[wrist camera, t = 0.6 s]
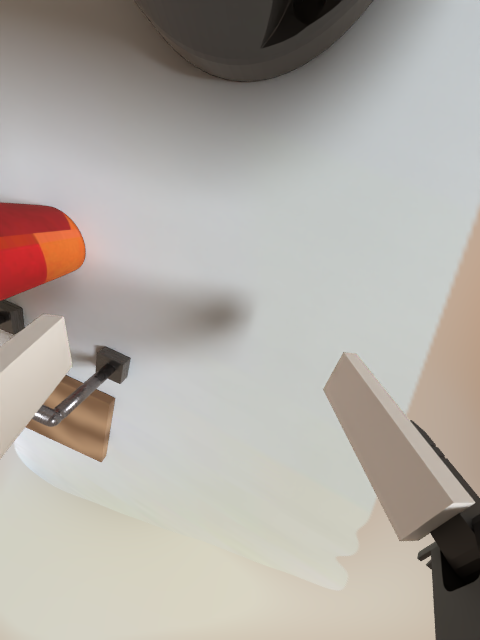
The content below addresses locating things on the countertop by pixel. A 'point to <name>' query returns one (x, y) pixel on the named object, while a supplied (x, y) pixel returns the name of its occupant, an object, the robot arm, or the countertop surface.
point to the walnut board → (80, 421)
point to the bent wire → (106, 367)
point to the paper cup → (36, 247)
